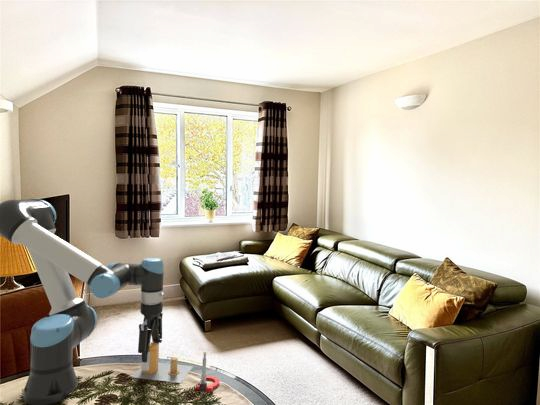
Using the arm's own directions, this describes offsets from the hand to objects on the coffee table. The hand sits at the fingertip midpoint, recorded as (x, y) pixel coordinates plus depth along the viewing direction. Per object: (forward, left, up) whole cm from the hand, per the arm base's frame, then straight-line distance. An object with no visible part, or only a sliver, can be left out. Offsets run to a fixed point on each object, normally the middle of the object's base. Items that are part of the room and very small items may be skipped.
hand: (150, 365), depth 132 cm
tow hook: (+22, -2, -4) cm, 22 cm away
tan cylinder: (0, 0, -2) cm, 2 cm away
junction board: (+5, 0, -3) cm, 6 cm away
